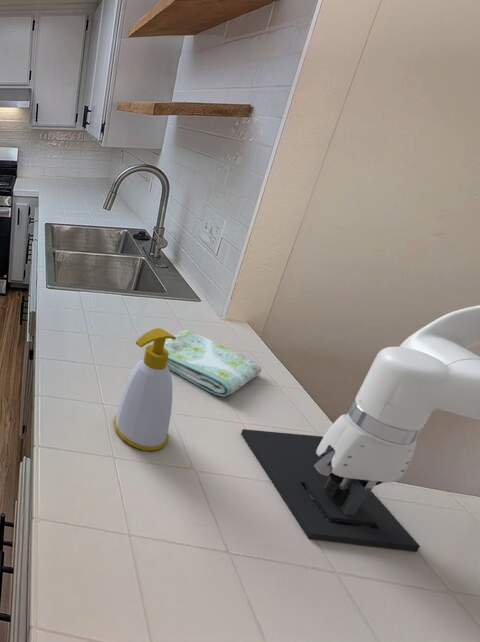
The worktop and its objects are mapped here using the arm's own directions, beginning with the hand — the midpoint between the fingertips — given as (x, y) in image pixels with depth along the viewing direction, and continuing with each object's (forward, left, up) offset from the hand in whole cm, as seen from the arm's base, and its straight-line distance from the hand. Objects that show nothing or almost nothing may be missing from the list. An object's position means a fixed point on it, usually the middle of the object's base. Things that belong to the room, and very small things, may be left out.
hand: (340, 498), depth 68 cm
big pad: (0, -5, -3) cm, 6 cm away
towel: (+7, -39, -3) cm, 40 cm away
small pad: (0, 0, -2) cm, 2 cm away
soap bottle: (+30, -14, -3) cm, 33 cm away
